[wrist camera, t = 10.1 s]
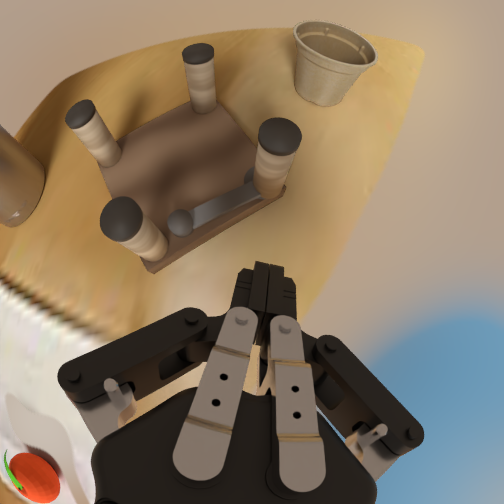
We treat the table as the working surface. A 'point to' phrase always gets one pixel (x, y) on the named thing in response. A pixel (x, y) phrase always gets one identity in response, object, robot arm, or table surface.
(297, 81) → the flower pot
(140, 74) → the table surface
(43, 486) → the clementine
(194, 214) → the swing leg
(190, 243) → the stool
